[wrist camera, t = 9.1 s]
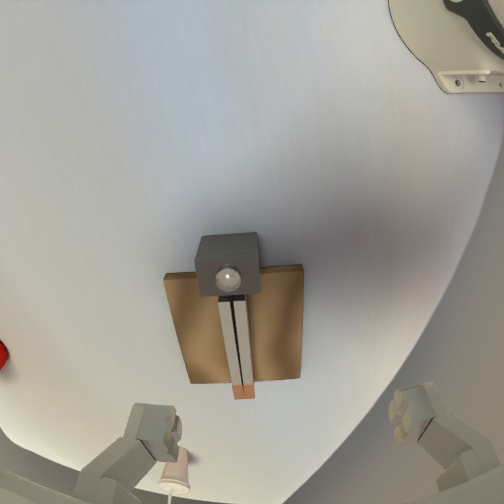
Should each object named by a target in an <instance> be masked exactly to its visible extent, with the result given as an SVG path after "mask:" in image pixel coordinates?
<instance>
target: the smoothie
mask: <svg viewBox="0 0 504 504" xmlns="http://www.w3.org/2000/svg"><path fill="white" fill-rule="evenodd" d="M158 486H159V487H160V488H161V489H163V490H165V491H168V492H169V497H168V504H171V496H172V493H187V492H189V491H190V485H189V479H188V455H187V450H186V449H185V448H182V447H179V454H178V460H177V463H172V462H166V464H165V467H164V470H163V473H162V476H161V479H160V480H159V481H158Z"/></svg>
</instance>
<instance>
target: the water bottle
mask: <svg viewBox="0 0 504 504" xmlns="http://www.w3.org/2000/svg"><path fill="white" fill-rule="evenodd" d="M6 360H7V352H6V350H5V348H4V346H3V345H2V344H1V343H0V370H1V368H2V367H3V365H4V364H5V362H6Z"/></svg>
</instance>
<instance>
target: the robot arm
mask: <svg viewBox="0 0 504 504" xmlns="http://www.w3.org/2000/svg"><path fill="white" fill-rule="evenodd" d="M389 7H390V12H391V16H392V19H393V22H394V24H395V27H396V29H397V31H398V33H399V35H400V36H401V38H402V40H403V41H404V43H405V44H406V45H407V47H408V48H409V49H410V50H411V52H412V53H413V54H414V55H415V56H416V57H417V58H418V59H419V60H420V61H422V62H423V63H424V64H425V65H426V66H427V67H428V68H429V69H430V70H431V72H432V73H433V75H434V77H435V79H436V81H437V83H438V84H439V86H440V88H441V89H442V90H443V91H444V92H446V93H449V94H450V93H485V92H496V93H504V0H389ZM455 81H457V86H456V84H455ZM394 398H395V399H394V400H393V401H391V403H390V406H389V419H390V422H391V424H392V425H393V426H395V427H396V429H395V432H394V436H395V439H396V442H397V445H398V447H399V446H402V445H407V444H412V443H416V442H417V443H418V444H419V445H420V446H421V447H422V448H423V449H424V450H425V451H426V452H427V453H428V454H429V455H430V456H431V457H432V458H434V459H435V460H436V461H437V462H438V463H439V464H440V465H441V466H442V467H443V468H444V469H445V471H444V472H443V473H442V474H441V475H440V476H439V477H438V478H437V480H436V482H437V486H438V489H439V493H436V494H433V495H430V496H428V497H425V498H422V499H418V500H415V501H412V502H409V503H405V504H504V464H502V465H501V463H500V461H499V459H498V456H497V454H496V451H495V449H494V447H493V444H492V442H491V440H490V439H488V438H487V437H486V436H484V435H483V434H481V433H480V432H478V431H477V430H475V429H474V428H472V427H471V426H470V425H468V424H467V423H465V422H463V421H462V420H461V419H459V418H458V417H456V416H455V415H453V414H452V413H449V414H448V413H447V410H446V408H445V406H444V403H443V401H442V399H441V397H440V395H439V393H438V391H437V389H436V386H435V384H434V383H433V382H428V383H424V384H419V385H415V386H410V387H406V388H402V389H398V390H396V391H395V393H394ZM181 436H182V423H181V420H180V417H178V416H177V415H176V409H175V407H174V406H167V405H153V404H143V403H135V404H134V405H133V407H132V410H131V413H130V416H129V419H128V423H127V426H126V429H125V433H124V436H123V437H119V438H118V439H117V440H116V441H115V442H114V443H112V444H111V445H110V446H109V447H108V448H107V449H105V450H104V451H103V452H102V453H101V454H100V455H98V456H97V457H96V458H95V459H94V460H92V461H91V462H90V463H89V464H88V465H86V466H85V467H84V468H83V469H82V470H81V472H80V475H79V479H78V482H77V485H76V489H75V491H74V495H73V497H70V496H68V495H65V494H62V493H59V492H56V491H54V490H51V489H48V488H46V487H44V486H41V485H38V484H36V483H34V482H32V481H29V480H27V479H25V478H23V477H20V476H18V475H16V474H14V473H12V472H9V471H3V472H1V473H0V504H140V503H141V502H140V501H139V499H137V498H136V497H135V496H134V495H132V494H131V493H130V492H131V490H132V489H133V488H134V487H135V486H136V485H137V484H138V483H139V482H140V480H141V479H142V478H143V477H144V476H145V475H146V474H147V473H148V471H149V470H150V469H151V468H152V467H153V466H154V465H155V463H156V461H160V462H172V463H177V460H178V454H179V447H178V445H177V442H178V441H179V440H180V439H181Z"/></svg>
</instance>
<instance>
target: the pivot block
mask: <svg viewBox="0 0 504 504" xmlns="http://www.w3.org/2000/svg"><path fill="white" fill-rule="evenodd" d="M194 262H195V268H196V274H197V280H198V285H199V291H200V297H208V296H226V295H243V294H258V293H261V286H260V270H259V255H258V244H257V233H256V232H253V233H238V234H224V235H211V236H202V238H201V241H200V244H199V248H198V251H197V254H196V258H195V261H194Z"/></svg>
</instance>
